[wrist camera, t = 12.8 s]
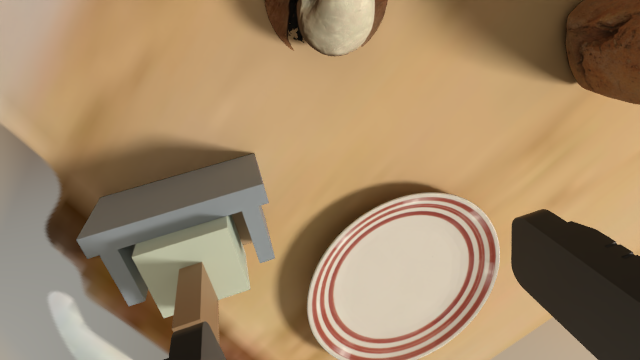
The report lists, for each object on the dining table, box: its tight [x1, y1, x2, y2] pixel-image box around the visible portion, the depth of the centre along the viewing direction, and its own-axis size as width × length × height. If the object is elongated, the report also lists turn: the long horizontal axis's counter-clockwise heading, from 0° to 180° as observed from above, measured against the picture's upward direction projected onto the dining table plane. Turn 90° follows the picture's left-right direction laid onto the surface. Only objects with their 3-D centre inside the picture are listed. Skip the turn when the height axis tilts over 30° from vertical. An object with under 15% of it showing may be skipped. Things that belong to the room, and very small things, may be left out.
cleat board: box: [76, 153, 275, 306], centre depth 39 cm, size 8×16×8 cm, turn 102°
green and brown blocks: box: [132, 215, 250, 344], centre depth 34 cm, size 7×8×13 cm
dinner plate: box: [307, 192, 500, 360], centre depth 53 cm, size 28×27×3 cm
